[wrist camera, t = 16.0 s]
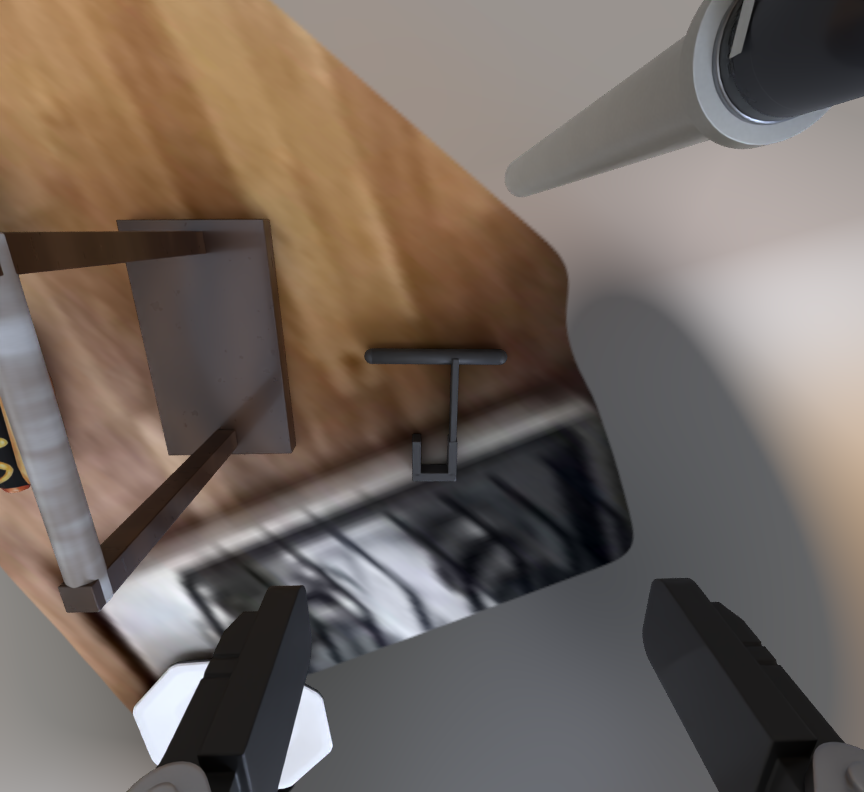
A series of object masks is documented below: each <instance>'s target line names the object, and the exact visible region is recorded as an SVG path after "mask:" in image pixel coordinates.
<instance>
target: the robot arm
mask: <svg viewBox="0 0 864 792" xmlns="http://www.w3.org/2000/svg"><path fill="white" fill-rule="evenodd" d="M712 75H713V81H714V85H715V88H716V91H717V94H718V96H719V98H720V100H721V102H722V103H723V105H724V106H725V107H726V109H727V110H728V111H729V112H730V113H732V114H733V115H734V116H735V117H737V118H738V119H740V120H742V121H744V122H747V123H750V124H755V125H772V124H777V123H781V122H784V121H788V120H791V119H793V118H796V117H798V116H800V115H802V114H806V113H809V112H812V111H816V110H819V109H823V108H826V107H830V106H833V105H836V104H840V103H843V102H846V101H849V100H853V99H856V98H859V97H863V96H864V0H733V2H732V3H731V5H730V6H729V8H728V9H727V11H726V13H725V15H724V17H723V19H722V21H721V23H720V26H719V28H718V31H717V34H716V38H715V41H714V46H713V53H712ZM642 634H643V643H644V647H645V651H646V654H647V656H648V659H649V661H650V663H651V665H652V667H653V669H654V670H655V672H656V674H657V676H658V678H659V680H660V682H661V683H662V685H663V687H664V689H665V691H666V693H667V695H668V697H669V699H670V700H671V702H672V704H673V706H674V708H675V710H676V712H677V714H678V715H679V717H680V719H681V721H682V723H683V725H684V727H685V728H686V731H687V732H688V734H689V736H690V738H691V740H692V742H693V744H694V745H695V748H696V749H697V751H698V753H699V755H700V757H701V759H702V761H703V763H704V765H705V766H706V768H707V770H708V772H709V774H710V776H711V778H712V780H713V782H714V783H715V785H716V787H717V789H718V791H719V792H864V750H863V749H860V748H858V747H855V746H852V745H849V744H846V743H845V742H844V741H843V740H842V739H841V738H840V737H839V736H838V735H837V733H836V732H835V731H834V730H833V728H832V727H831V726H830V725H829V724H828V723H827V721H826V720H825V719H824V718H823V716H822V715H821V714H820V713H819V712H818V710H817V709H816V708H815V707H814V705H813V704H812V703H811V702H810V701H809V700H808V698H807V697H806V696H805V695H804V693H803V692H802V691H801V690H800V688H799V687H798V686H797V685H796V684H795V682H794V681H793V680H792V679H791V678H790V676H789V675H788V674H787V673H786V672H785V670H784V669H783V668H782V667H781V666H780V665H777V663H776V659H775V658H774V657H773V656H772V655H771V653H770V652H769V651H768V650H767V649H766V647H765V646H764V647H763V646H762V645H761V641H760V640H759V639H758V638H757V636H756V635H755V634H754V633H753V632H752V630H751V629H750V628H749V627H748V626H747V625H746V623H745V622H744V621H743V620H742V619H741V618H739V617H738V616H737V615H735V614H734V613H733V612H731V611H730V610H729V609H727V608H726V607H725V606H723V605H722V604H721V603H719V602H710V601H709V600H708V598H707V597H706V595H705V594H704V593H703V592H702V590H701V589H700V588H699V587H698V585H697V584H696V583H695V582H694V581H693V580H691V579H690V578H670V579H655V580H654V581H653V582H652V584H651V589H650V594H649V599H648V604H647V609H646V614H645V620H644V624H643V633H642ZM311 647H312V637H311V628H310V620H309V612H308V604H307V596H306V590H305V587H304V586H303V585H300V586H271V587H269V588H268V590H267V592H266V594H265V596H264V599H263V601H262V603H261V606H260V608H259V610H258V611H256V612H243V613H242V614H241V615H240V616H239V617H238V618H237V619H236V620H235V621H234V622H233V623H232V624H231V625H230V626H229V627H228V628H227V629H226V630H225V631H224V633H223V635H222V637H221V639H220V641H219V643H218V645H217V647H216V649H215V651H214V654H213V658H212V659H211V660H210V662H209V664H208V666H207V668H206V670H205V672H204V677H203V679H201V680H200V682H199V684H198V686H197V688H196V690H195V693H194V695H193V697H192V699H191V701H190V703H189V705H188V707H187V709H186V711H185V713H184V715H183V717H182V719H181V721H180V723H179V725H178V727H177V729H176V731H175V734H174V736H173V738H172V740H171V742H170V744H169V746H168V748H167V750H166V752H165V754H164V756H163V758H162V759H161V761H160V763H159V765H158V766H157V767H156V769H155V770H152V771H151V772H149V773H148V774H146V775H145V776H143V777H142V778H141V779H139V780H138V781H137V782H136V783H135V784H134V785H133V786H132V787H131V788H130V789H129V790H128V791H127V792H277V790H278V786H279V782H280V778H281V775H282V771H283V767H284V763H285V759H286V755H287V751H288V747H289V743H290V739H291V735H292V731H293V727H294V723H295V720H296V716H297V712H298V708H299V704H300V700H301V696H302V692H303V688H304V684H305V680H306V676H307V672H308V668H309V664H310V658H311Z"/></svg>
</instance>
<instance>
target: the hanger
mask: <svg viewBox="0 0 864 792" xmlns="http://www.w3.org/2000/svg"><path fill="white" fill-rule="evenodd" d="M364 357H365V360H366V361H367V362H368V363H370V364H451V385H450V419H449V434H448V448H447V465H421V434H413V439H412V480H413V481H456V467H457V437H456V434H457V406H458V378H459V364H474V365H501V364H504V363H505V362H506V360H507V354H506V352H505V351H504V350H501V349H387V348H371V349H368V350H367V351H366V352H365V355H364Z"/></svg>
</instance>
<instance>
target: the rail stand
mask: <svg viewBox="0 0 864 792" xmlns="http://www.w3.org/2000/svg"><path fill="white" fill-rule="evenodd" d="M116 221H117V226H118V230H119V231H107V232H0V397H1V400H2V403H3V406H4V409H5V411H6V414H7V417H8V420H9V423H10V426H11V429H12V432H13V435H14V438H15V440H16V443H17V446H18V449H19V452H20V455H21V458H22V461H23V464H24V466H25V469H26V472H27V475H28V478H29V481H30V484H31V487H32V490H33V493H34V495H35V498H36V501H37V504H38V507H39V510H40V513H41V516H42V519H43V521H44V524H45V527H46V530H47V533H48V536H49V539H50V542H51V545H52V548H53V550H54V553H55V556H56V559H57V562H58V565H59V568H60V571H61V574H62V576H63V579H64V582H63V583H62V584H61V585H60V586H59V587H58V589H59V592H60V595H61V598H62V600H63V603H64V606H65V609H66V612H68V613H70V612H99V611H100V610H101V609H102V608H103V606H104V605H105V604H106V603H107V602H108V601H109V600H110V599H111V598H112V596H113V594H114V593H115V592H116V591H117V590H118V589H119V587H120V586H121V585H122V584H123V583H124V581H125V580H126V579H127V578H128V577H129V575H130V574H131V573H132V572H133V571H134V569H135V568H136V567H137V566H138V565H139V563H140V562H141V561H142V560H143V559H144V557H145V556H146V555H147V554H148V553H149V552H150V550H151V549H152V548H153V547H154V546H155V544H156V543H157V542H158V541H159V540H160V538H161V537H162V536H163V535H164V534H165V532H166V531H167V530H168V529H169V528H170V526H171V525H172V524H173V523H174V522H175V520H176V519H177V518H178V517H179V516H180V514H181V513H182V512H183V511H184V510H185V509H186V507H187V506H188V505H189V504H190V503H191V501H192V500H193V499H194V498H195V497H196V495H197V494H198V493H199V492H200V491H201V489H202V488H203V487H204V486H205V485H206V483H207V482H208V481H209V480H210V479H211V477H212V476H213V475H214V474H215V473H216V472H217V470H218V469H219V468H220V467H221V466H222V464H223V463H224V462H225V461H226V460H227V458H228V457H229V456H230V455H231V454H280V453H292V451H293V450H294V448H295V446H296V441H295V433H294V424H293V416H292V407H291V399H290V390H289V382H288V373H287V364H286V356H285V347H284V339H283V330H282V322H281V313H280V305H279V296H278V288H277V279H276V271H275V262H274V254H273V245H272V237H271V228H270V220H268V219H189V220H116ZM117 263H126V266H127V270H128V275H129V279H130V284H131V288H132V293H133V297H134V302H135V306H136V311H137V315H138V320H139V324H140V329H141V333H142V338H143V342H144V347H145V351H146V356H147V360H148V365H149V369H150V374H151V378H152V382H153V387H154V391H155V396H156V400H157V405H158V409H159V414H160V418H161V423H162V427H163V432H164V436H165V441H166V445H167V450H168V454H169V455H191V456H190V457H189V458H188V459H187V460H186V461H185V462H184V463H183V464H182V465H181V466H180V467H179V468H178V469H177V470H176V471H175V472H174V473H173V474H172V475H171V476H170V477H169V478H168V479H167V480H166V481H165V482H164V483H163V484H162V485H161V486H160V487H159V488H158V489H157V490H156V491H155V492H154V493H153V494H152V495H151V496H150V497H149V498H148V499H146V500H145V501H144V502H143V503H142V504H141V505H140V506H139V507H138V508H137V509H136V510H135V511H134V512H133V513H132V514H131V515H130V516H129V517H128V518H127V519H126V520H125V521H124V522H123V523H122V524H121V525H120V526H119V527H118V528H117V529H116V530H115V531H114V532H113V533H112V534H111V535H110V536H109V537H108V538H107V539H106V540H105V541H104V542H103V543H102V544H101V545H100V543H99V540H98V537H97V533H96V530H95V527H94V523H93V520H92V517H91V514H90V510H89V507H88V504H87V500H86V497H85V494H84V490H83V487H82V484H81V480H80V477H79V474H78V471H77V467H76V464H75V461H74V457H73V454H72V451H71V447H70V444H69V441H68V437H67V434H66V431H65V428H64V424H63V421H62V418H61V414H60V411H59V408H58V404H57V401H56V398H55V394H54V391H53V388H52V385H51V381H50V378H49V375H48V371H47V368H46V365H45V361H44V358H43V355H42V351H41V348H40V345H39V342H38V338H37V335H36V332H35V328H34V325H33V322H32V318H31V315H30V312H29V308H28V305H27V302H26V299H25V295H24V292H23V289H22V285H21V282H20V279H19V274H28V273H37V272H46V271H55V270H64V269H72V268H81V267H90V266H99V265H108V264H117Z"/></svg>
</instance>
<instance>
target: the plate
mask: <svg viewBox="0 0 864 792" xmlns="http://www.w3.org/2000/svg"><path fill="white" fill-rule="evenodd" d="M210 660H211V659H209V660H195V661H182V662H178V663H176V664H173V665H171V666H170V667H169V668H168V669H167V670H166V672H165V673H164V674H163V675H162V676H161V677H160V678H159V679H158V680H157V682H156V683H155V684H154V685H153V686H152V687H151V688H150V689H149V690H148V691H147V693H146V694H145V695H144V696H143V697H142V698H141V699H140V700H139V701H138V703H137V704H136V705H135V706H134V709H133V715H134V718H135V720H136V723H137V725H138V727H139V730H140V732H141V734H142V737H143V739H144V742H145V744H146V747H147V749H148V752H149V754H150V756H151V759H152V761H153V762H154V763H155V764H157V765H159V763H160V761H161V759H162V758H163V756H164V754H165V752H166V750H167V748H168V746H169V744H170V742H171V740H172V738H173V736H174V734H175V731H176V729H177V727H178V725H179V723H180V721H181V719H182V717H183V715H184V713H185V711H186V709H187V707H188V705H189V703H190V701H191V699H192V697H193V695H194V693H195V690H196V688H197V686H198V684H199V682H200V680H201V679H203V677H204V672H205V670H206V668H207V666H208V664H209V662H210ZM332 746H333V742H332V737H331V733H330V728H329V723H328V718H327V713H326V709H325V704H324V699H323V696H322V695H321V694H320V693H319V692H318V691H317V690H316V689H314V688H312V687H310V686H309V685H307V684H304V688H303V692H302V696H301V700H300V704H299V708H298V712H297V716H296V720H295V723H294V727H293V731H292V735H291V739H290V743H289V747H288V751H287V755H286V759H285V763H284V767H283V771H282V775H281V778H280V782H279V786H278V789H283V788H287V787H289V786H292V785H293V784H294V783H295V782H296V781H297V780H299V779H300V778H301V777H302V776H303V775H304V774H305V773H307V772H308V771H309V770H310V769H311V768H312V767H313V766H315V765H316V764H317V763H318V762H319V761H320V760H321V759H322V758H324V757H325V756H326V755H327V754H328V753H329V752H330V751H331V749H332Z"/></svg>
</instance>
